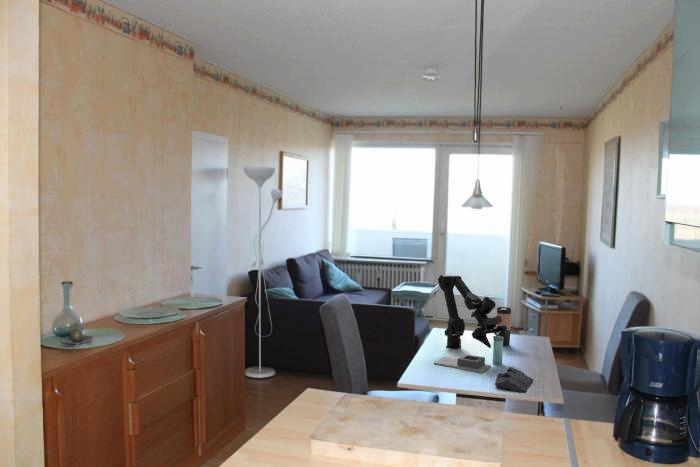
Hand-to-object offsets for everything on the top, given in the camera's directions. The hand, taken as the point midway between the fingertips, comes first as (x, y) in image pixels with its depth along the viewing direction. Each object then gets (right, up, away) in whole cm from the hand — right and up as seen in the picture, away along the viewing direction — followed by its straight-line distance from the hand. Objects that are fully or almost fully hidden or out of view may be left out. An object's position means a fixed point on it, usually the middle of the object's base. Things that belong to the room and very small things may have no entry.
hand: (497, 346), depth 280 cm
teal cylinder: (0, -8, 0) cm, 8 cm away
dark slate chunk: (-1, -11, -30) cm, 31 cm away
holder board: (-18, -8, -4) cm, 20 cm away
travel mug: (+12, -7, +38) cm, 41 cm away
